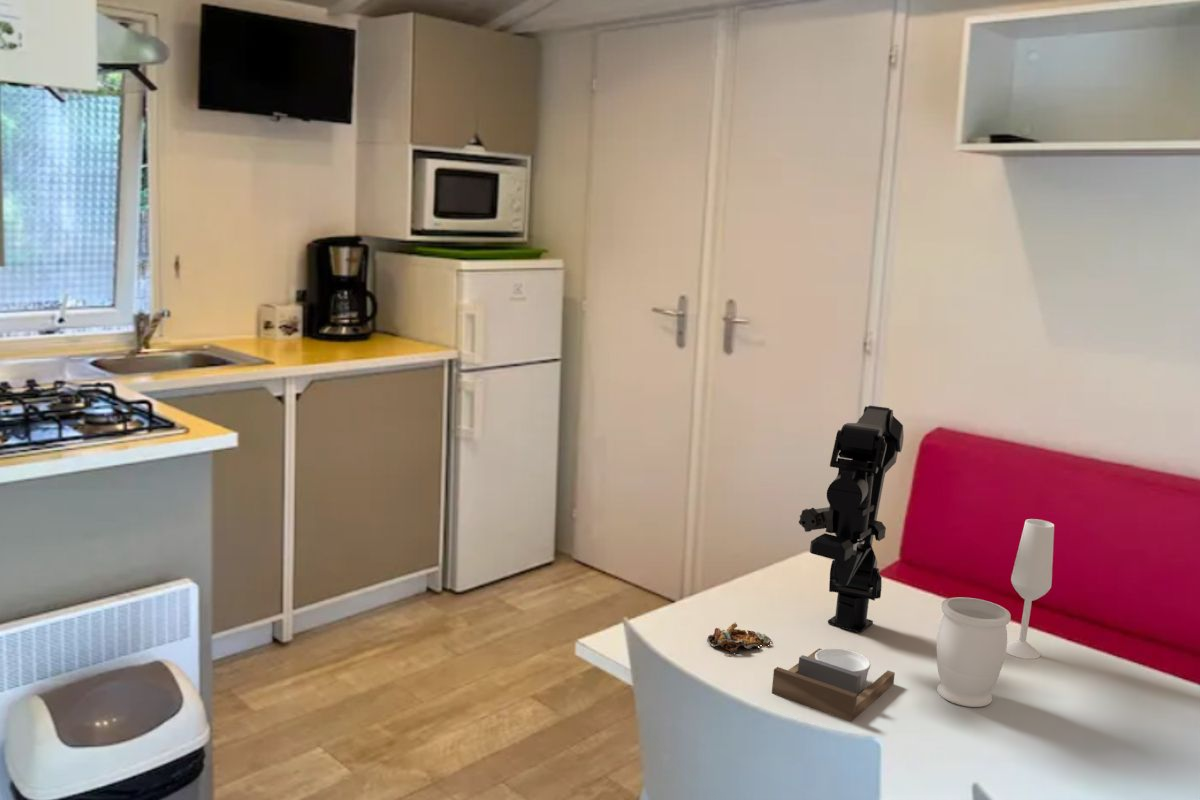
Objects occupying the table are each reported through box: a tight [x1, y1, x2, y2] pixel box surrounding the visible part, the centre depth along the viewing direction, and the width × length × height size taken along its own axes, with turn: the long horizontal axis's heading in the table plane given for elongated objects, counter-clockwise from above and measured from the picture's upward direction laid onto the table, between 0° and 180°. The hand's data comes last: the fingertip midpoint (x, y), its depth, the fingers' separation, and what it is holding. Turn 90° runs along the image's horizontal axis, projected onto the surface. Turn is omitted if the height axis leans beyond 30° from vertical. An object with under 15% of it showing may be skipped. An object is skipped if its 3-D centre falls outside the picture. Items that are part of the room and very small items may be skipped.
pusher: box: [798, 654, 861, 696], centre depth 166 cm, size 2×10×4 cm, turn 54°
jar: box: [936, 596, 1012, 708], centre depth 167 cm, size 11×10×15 cm
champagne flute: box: [1006, 518, 1055, 660], centre depth 186 cm, size 7×7×24 cm
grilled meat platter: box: [706, 622, 773, 658], centre depth 183 cm, size 7×12×4 cm, turn 124°
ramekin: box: [815, 647, 871, 693], centre depth 170 cm, size 9×9×4 cm
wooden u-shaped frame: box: [771, 647, 896, 722], centre depth 168 cm, size 17×13×4 cm
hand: (843, 585), depth 181 cm, fingers closed
